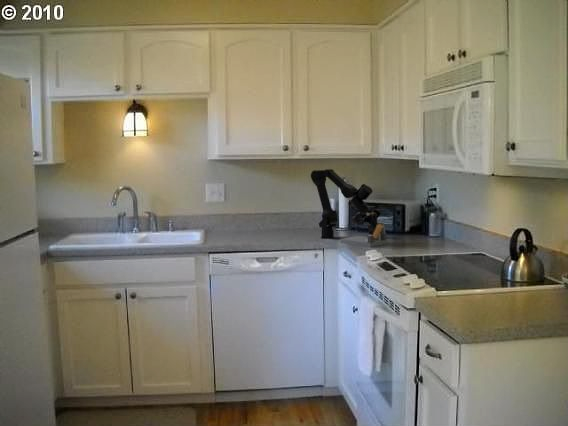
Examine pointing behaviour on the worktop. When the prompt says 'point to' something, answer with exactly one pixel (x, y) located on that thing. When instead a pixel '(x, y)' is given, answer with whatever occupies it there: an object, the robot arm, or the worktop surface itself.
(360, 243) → the breaker panel
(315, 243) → the worktop surface
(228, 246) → the worktop surface
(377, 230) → the breaker
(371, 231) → the electrical switch
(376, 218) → the robot arm
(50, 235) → the worktop surface
